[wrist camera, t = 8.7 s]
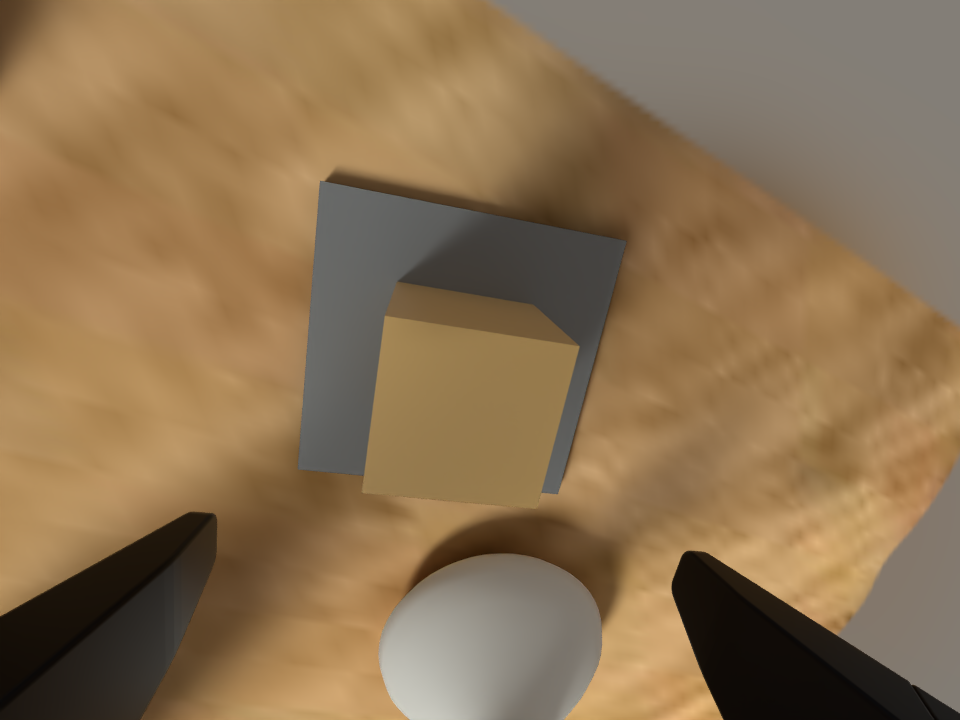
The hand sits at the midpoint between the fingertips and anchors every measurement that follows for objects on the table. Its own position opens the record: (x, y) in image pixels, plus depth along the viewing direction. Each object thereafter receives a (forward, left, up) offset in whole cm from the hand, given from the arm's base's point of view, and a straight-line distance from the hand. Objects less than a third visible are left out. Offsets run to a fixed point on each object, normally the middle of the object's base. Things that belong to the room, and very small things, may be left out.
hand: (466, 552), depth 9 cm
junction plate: (0, -1, -12) cm, 12 cm away
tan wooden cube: (0, -1, -11) cm, 11 cm away
